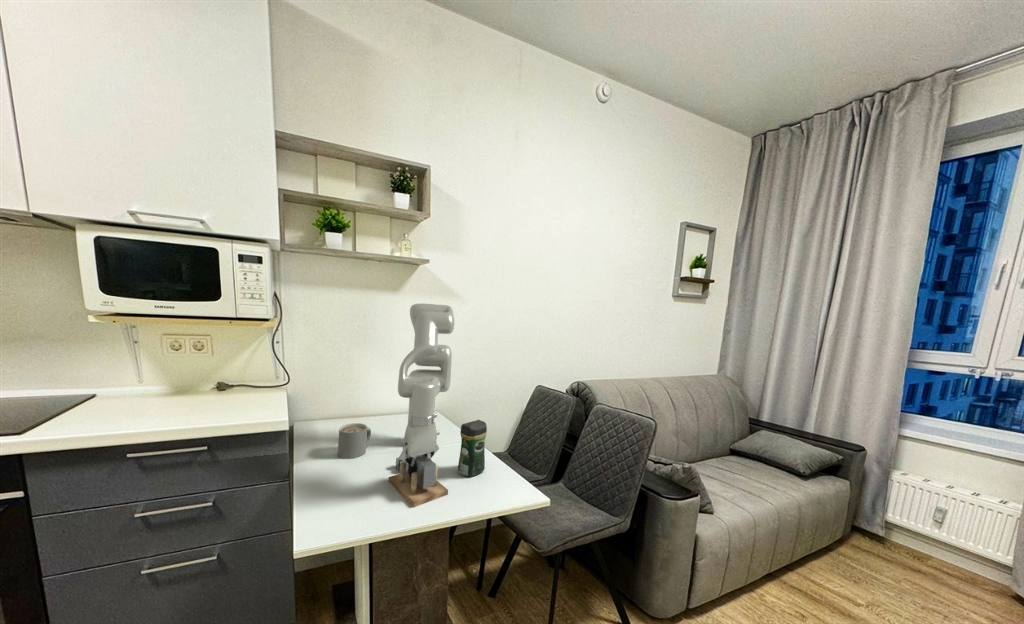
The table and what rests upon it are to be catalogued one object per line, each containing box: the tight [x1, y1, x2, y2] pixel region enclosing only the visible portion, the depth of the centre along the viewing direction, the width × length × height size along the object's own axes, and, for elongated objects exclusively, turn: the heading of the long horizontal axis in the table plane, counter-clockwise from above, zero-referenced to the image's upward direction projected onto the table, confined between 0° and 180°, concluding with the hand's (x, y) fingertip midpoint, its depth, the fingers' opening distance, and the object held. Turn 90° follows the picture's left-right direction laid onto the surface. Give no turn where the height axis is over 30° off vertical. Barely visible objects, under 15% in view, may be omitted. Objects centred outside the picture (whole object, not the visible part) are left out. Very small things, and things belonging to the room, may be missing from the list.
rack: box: [388, 462, 449, 508], centre depth 115 cm, size 12×18×8 cm, turn 43°
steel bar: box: [404, 453, 437, 489], centre depth 115 cm, size 4×14×7 cm, turn 43°
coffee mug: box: [337, 422, 372, 460], centre depth 138 cm, size 13×10×10 cm
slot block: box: [395, 456, 404, 472], centre depth 128 cm, size 6×5×6 cm
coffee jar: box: [457, 419, 488, 478], centre depth 129 cm, size 10×8×19 cm
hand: (418, 473), depth 116 cm, fingers closed on steel bar, 4 cm apart
